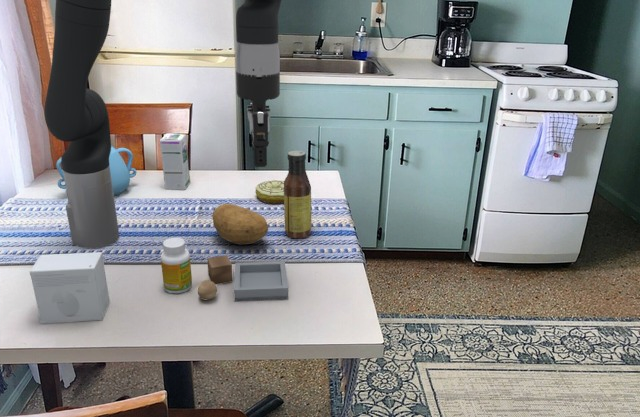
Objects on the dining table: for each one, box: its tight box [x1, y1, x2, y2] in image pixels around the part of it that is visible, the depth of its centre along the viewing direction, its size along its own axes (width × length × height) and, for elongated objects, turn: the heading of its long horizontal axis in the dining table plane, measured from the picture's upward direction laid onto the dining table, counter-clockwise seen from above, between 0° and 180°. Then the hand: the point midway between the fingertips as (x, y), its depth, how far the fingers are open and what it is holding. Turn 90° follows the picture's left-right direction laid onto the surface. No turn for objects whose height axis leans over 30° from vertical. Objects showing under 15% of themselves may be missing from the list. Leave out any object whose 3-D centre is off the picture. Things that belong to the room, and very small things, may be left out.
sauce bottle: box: [283, 150, 312, 240], centre depth 124 cm, size 6×6×20 cm
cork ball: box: [197, 279, 218, 301], centre depth 102 cm, size 4×4×4 cm
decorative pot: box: [55, 145, 137, 196], centre depth 144 cm, size 16×16×14 cm
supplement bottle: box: [160, 237, 193, 294], centre depth 104 cm, size 5×5×10 cm
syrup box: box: [159, 132, 191, 191], centre depth 149 cm, size 6×6×14 cm
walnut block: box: [207, 254, 233, 285], centre depth 108 cm, size 4×4×4 cm
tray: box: [233, 260, 289, 302], centre depth 106 cm, size 10×10×2 cm
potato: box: [211, 203, 269, 245], centre depth 122 cm, size 10×14×8 cm
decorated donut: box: [254, 179, 285, 204], centre depth 147 cm, size 10×11×4 cm
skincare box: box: [29, 251, 111, 325], centre depth 95 cm, size 10×6×10 cm, turn 98°
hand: (259, 158), depth 101 cm, fingers open, 8 cm apart
